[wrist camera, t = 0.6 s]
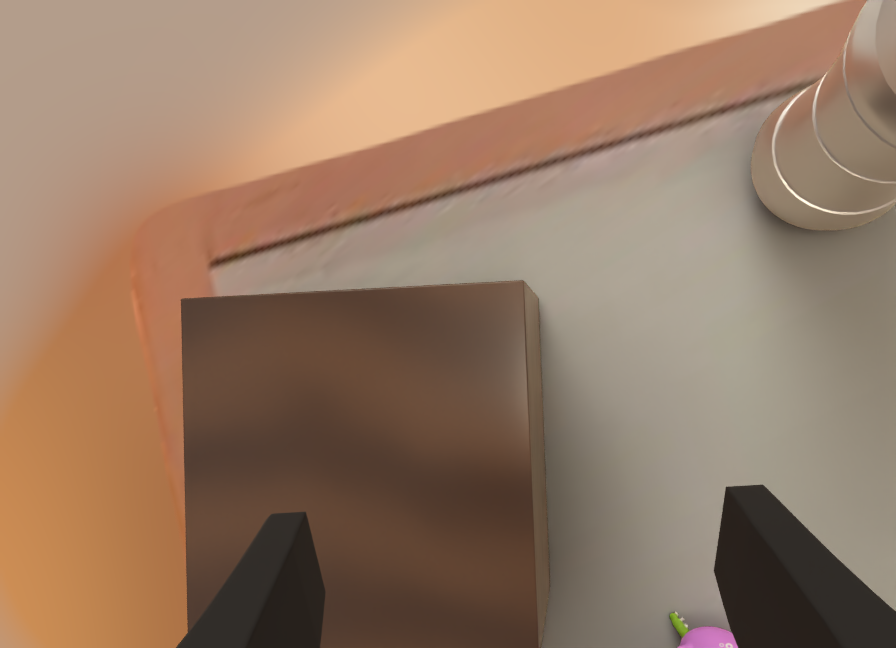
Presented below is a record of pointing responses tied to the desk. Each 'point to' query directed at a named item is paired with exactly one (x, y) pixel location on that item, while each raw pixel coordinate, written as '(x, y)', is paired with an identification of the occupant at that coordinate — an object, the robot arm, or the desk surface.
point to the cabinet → (376, 455)
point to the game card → (702, 635)
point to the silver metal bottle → (836, 135)
